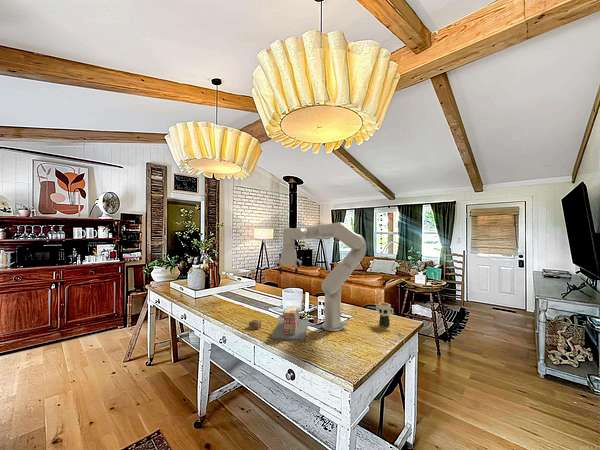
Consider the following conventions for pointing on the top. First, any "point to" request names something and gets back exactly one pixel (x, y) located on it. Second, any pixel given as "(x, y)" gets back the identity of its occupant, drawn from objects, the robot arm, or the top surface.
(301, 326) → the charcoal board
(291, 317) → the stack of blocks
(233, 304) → the top surface
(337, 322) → the robot arm
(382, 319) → the beige and green figurine
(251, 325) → the walnut brick
